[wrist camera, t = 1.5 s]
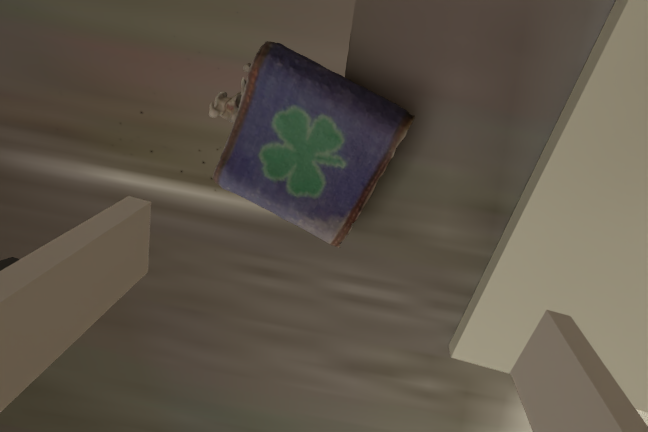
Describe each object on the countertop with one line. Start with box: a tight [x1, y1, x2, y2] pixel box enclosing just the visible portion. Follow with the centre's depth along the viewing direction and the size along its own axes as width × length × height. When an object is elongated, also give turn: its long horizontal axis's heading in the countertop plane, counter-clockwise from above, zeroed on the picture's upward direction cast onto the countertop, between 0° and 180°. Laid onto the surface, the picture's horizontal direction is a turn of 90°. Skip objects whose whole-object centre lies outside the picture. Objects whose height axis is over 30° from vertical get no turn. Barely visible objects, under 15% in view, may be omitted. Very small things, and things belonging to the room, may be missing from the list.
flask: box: [209, 41, 414, 247], centre depth 23 cm, size 9×3×11 cm
